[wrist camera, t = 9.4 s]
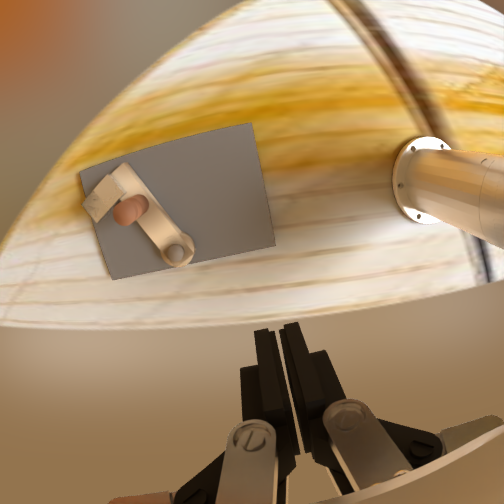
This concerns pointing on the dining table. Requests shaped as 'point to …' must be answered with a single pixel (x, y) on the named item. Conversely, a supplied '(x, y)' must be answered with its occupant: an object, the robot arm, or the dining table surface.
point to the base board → (191, 199)
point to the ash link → (151, 218)
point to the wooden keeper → (104, 198)
